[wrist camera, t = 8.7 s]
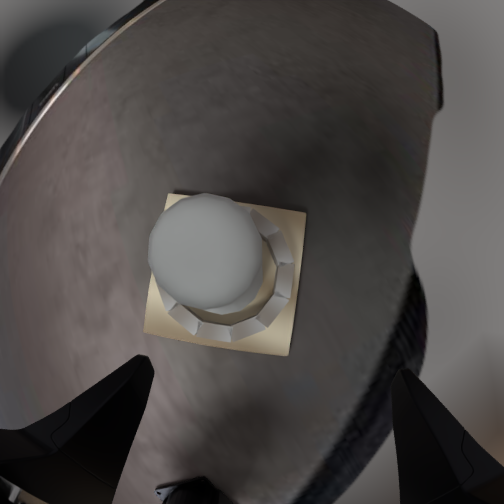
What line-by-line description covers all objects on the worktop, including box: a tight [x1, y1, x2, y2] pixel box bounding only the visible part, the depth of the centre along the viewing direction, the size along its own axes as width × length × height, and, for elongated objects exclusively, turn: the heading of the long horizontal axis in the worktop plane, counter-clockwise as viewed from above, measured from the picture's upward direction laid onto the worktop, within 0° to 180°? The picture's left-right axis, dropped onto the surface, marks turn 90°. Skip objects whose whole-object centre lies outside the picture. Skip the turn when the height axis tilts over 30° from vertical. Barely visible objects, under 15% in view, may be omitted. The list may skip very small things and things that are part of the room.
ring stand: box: [143, 193, 306, 356], centre depth 21 cm, size 12×12×2 cm
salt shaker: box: [148, 193, 263, 315], centre depth 15 cm, size 6×6×13 cm
